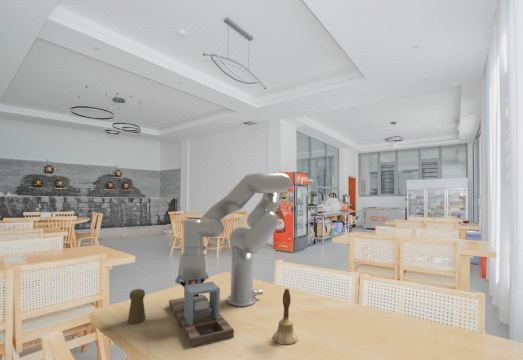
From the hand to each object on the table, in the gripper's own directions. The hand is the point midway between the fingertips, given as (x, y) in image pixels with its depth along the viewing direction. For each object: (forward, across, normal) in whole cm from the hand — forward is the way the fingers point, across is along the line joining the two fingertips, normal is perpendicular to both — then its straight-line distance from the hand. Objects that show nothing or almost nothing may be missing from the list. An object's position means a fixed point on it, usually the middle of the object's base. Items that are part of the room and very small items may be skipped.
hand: (191, 296), depth 116 cm
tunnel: (+3, 0, +13) cm, 13 cm away
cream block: (+3, 0, +11) cm, 11 cm away
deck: (+6, 0, +9) cm, 10 cm away
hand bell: (+6, -22, +34) cm, 41 cm away
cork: (+6, +20, -1) cm, 21 cm away
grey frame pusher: (+3, 0, +6) cm, 7 cm away
